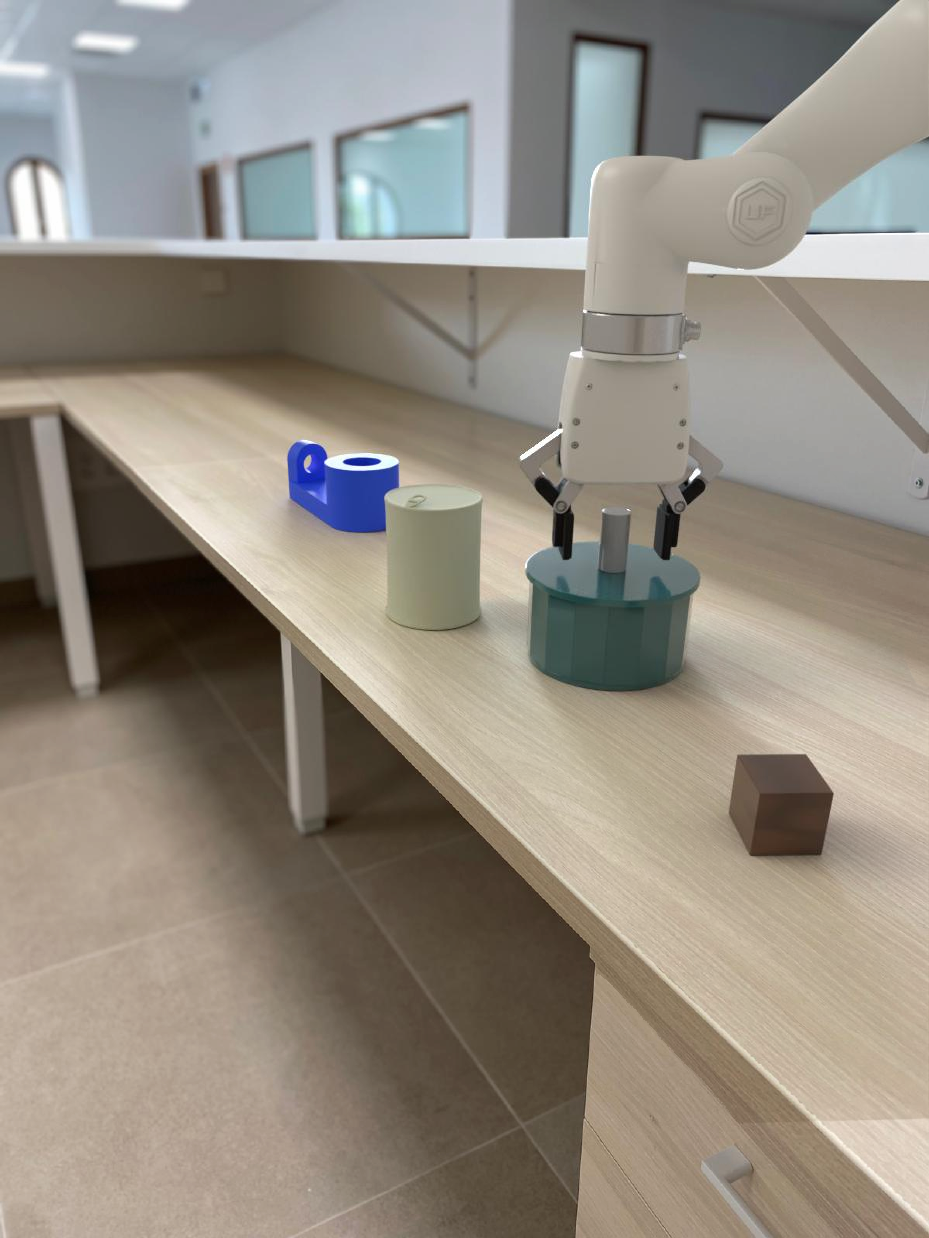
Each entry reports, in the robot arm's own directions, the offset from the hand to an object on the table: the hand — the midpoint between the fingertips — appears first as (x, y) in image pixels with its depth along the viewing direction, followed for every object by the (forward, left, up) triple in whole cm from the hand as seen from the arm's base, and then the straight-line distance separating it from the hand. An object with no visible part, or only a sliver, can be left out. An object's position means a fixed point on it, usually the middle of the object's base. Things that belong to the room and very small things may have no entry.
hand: (613, 553), depth 78 cm
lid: (0, 0, -2) cm, 2 cm away
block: (-6, +26, -9) cm, 28 cm away
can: (+15, -10, -10) cm, 20 cm away
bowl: (0, 0, -9) cm, 9 cm away
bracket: (+27, -44, -10) cm, 53 cm away
